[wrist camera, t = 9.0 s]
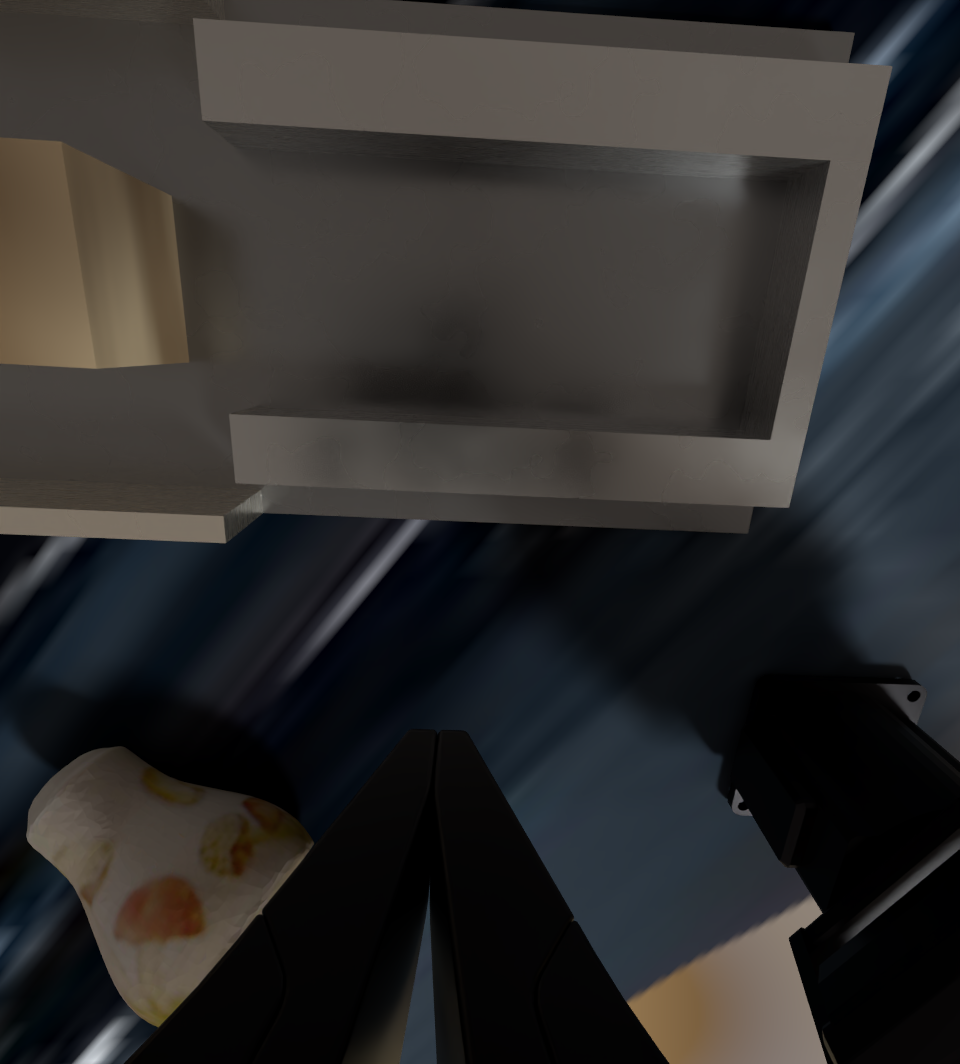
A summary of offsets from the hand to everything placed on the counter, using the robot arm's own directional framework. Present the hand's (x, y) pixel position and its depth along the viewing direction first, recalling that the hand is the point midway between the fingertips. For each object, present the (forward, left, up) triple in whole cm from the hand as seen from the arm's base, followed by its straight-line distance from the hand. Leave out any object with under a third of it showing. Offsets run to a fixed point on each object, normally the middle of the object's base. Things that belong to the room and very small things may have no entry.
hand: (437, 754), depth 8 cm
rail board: (+5, -7, -12) cm, 15 cm away
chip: (+11, -7, -11) cm, 17 cm away
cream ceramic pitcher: (+11, +13, -12) cm, 21 cm away
